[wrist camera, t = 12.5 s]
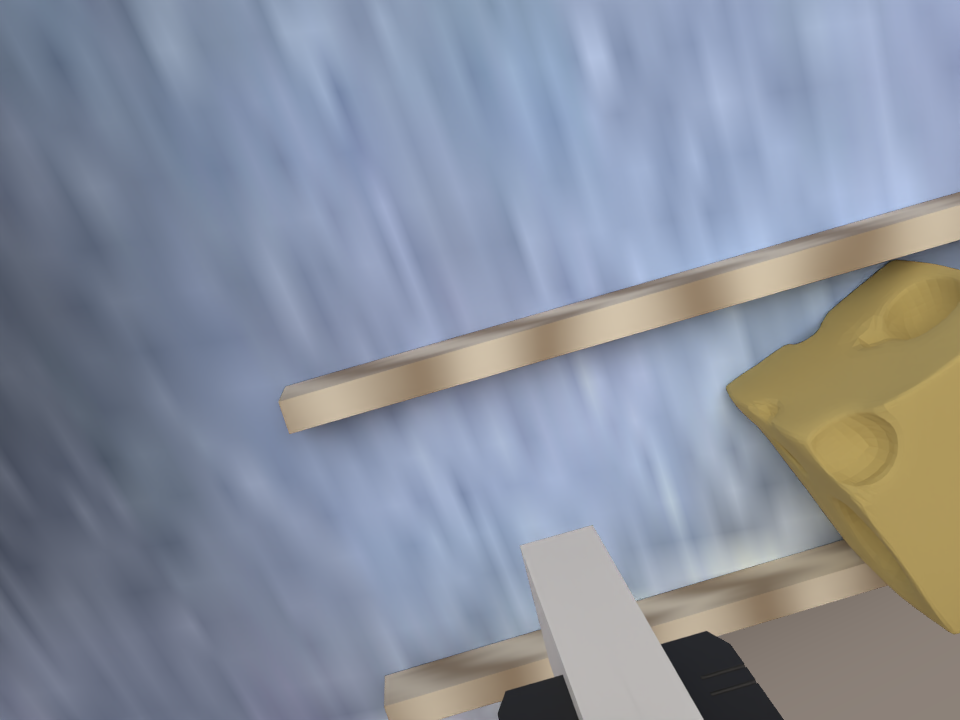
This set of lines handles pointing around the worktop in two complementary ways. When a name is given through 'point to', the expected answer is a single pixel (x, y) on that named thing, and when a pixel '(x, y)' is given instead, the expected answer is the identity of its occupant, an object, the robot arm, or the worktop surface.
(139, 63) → the worktop surface
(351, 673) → the worktop surface
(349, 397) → the channel
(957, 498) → the cheese
